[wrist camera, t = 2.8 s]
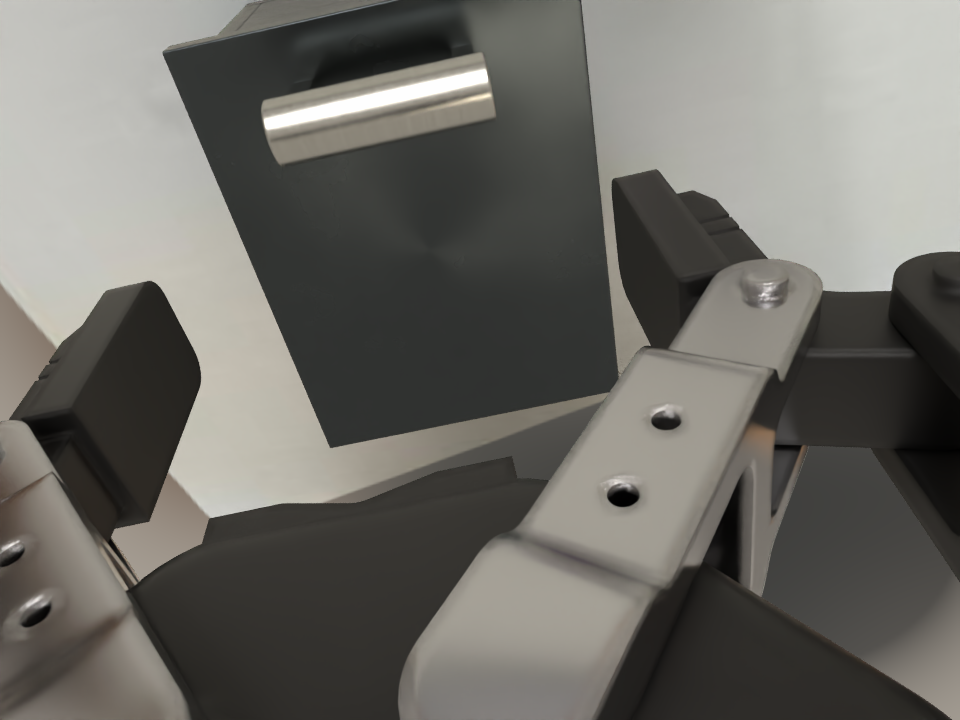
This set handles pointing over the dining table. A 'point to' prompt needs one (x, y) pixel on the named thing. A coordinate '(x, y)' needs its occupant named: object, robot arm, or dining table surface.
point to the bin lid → (416, 203)
